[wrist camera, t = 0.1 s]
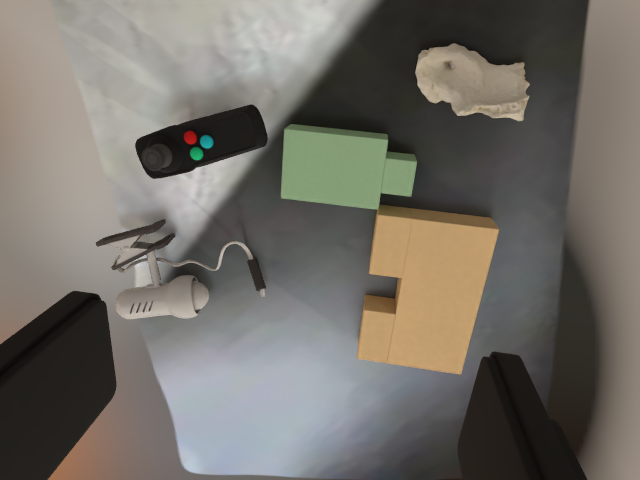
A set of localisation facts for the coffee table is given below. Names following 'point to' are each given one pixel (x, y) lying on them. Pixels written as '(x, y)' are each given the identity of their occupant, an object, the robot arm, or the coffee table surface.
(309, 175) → the green pad
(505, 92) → the coral
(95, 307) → the robot arm
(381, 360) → the sand pad
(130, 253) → the clip-on lamp
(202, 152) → the controller
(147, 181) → the coffee table surface
